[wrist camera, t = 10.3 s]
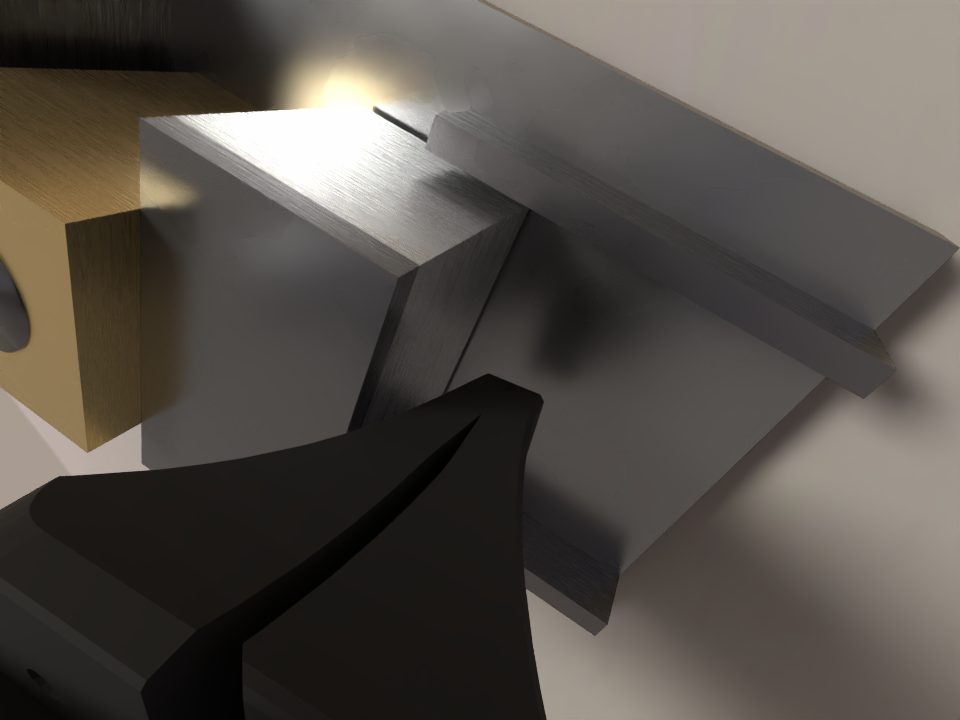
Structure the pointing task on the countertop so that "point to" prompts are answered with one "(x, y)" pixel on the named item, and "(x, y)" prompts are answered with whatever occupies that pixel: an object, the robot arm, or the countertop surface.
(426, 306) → the block
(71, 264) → the housing
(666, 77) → the countertop surface
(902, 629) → the countertop surface
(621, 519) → the press bed
